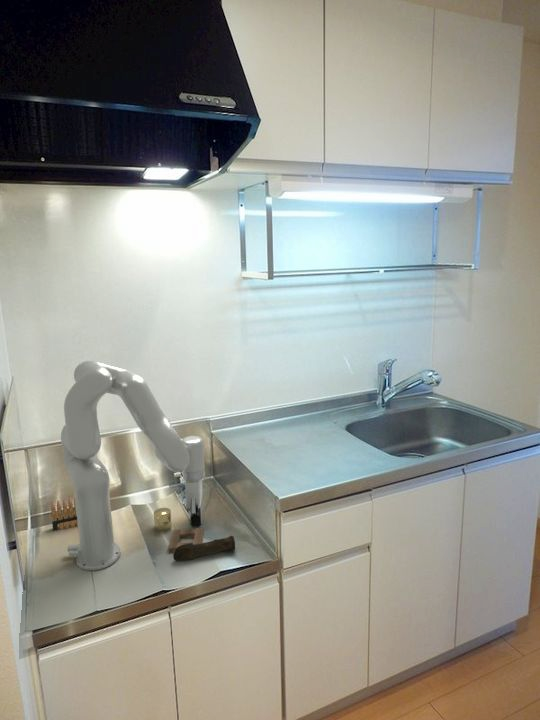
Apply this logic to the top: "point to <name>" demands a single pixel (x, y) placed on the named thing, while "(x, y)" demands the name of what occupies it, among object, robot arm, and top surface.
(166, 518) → the olive gold rounded cube
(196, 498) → the robot arm
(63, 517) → the ammunition clip
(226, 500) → the top surface
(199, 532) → the bore block
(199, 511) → the square bit
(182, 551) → the dark brown log
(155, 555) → the top surface
